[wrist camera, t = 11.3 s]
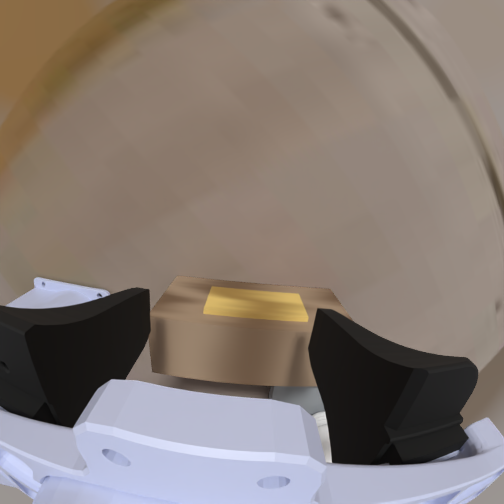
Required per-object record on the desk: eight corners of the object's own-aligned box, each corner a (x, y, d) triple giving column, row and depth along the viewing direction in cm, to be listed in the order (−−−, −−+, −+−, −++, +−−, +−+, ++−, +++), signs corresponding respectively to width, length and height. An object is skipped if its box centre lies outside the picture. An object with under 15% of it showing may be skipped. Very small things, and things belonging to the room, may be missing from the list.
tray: (260, 436, 25) (260, 448, 24) (274, 364, 23) (276, 376, 21) (352, 432, 26) (355, 443, 24) (384, 362, 23) (391, 373, 21)
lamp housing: (177, 327, 22) (153, 379, 15) (177, 272, 21) (146, 311, 14) (319, 338, 22) (341, 391, 15) (330, 285, 21) (362, 328, 14)
